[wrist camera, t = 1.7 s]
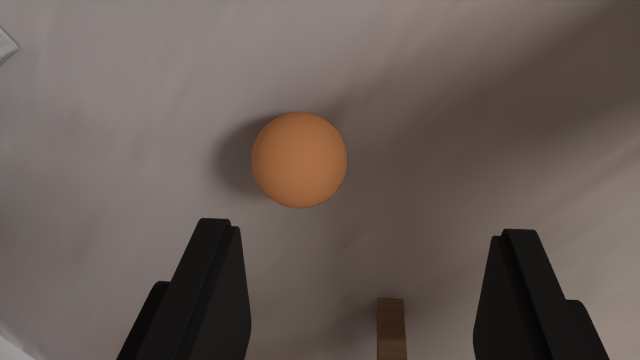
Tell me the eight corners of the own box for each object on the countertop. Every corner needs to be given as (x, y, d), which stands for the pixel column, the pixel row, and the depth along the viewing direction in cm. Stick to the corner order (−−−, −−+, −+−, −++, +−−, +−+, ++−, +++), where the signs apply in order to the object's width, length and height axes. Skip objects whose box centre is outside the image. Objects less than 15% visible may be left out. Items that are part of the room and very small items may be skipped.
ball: (349, 97, 34) (345, 141, 29) (348, 176, 37) (345, 229, 32) (256, 95, 34) (236, 138, 29) (263, 174, 37) (246, 225, 32)
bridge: (220, 290, 44) (186, 393, 36) (403, 299, 43) (410, 406, 34) (224, 316, 45) (192, 419, 37) (400, 325, 44) (407, 434, 36)
